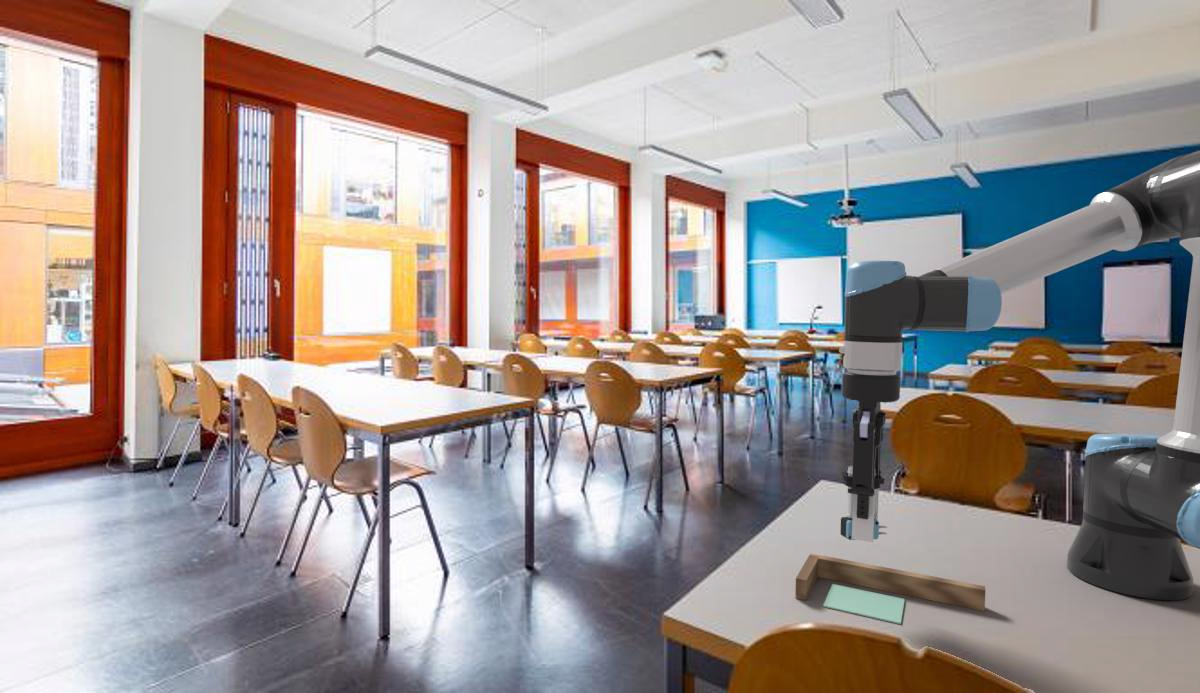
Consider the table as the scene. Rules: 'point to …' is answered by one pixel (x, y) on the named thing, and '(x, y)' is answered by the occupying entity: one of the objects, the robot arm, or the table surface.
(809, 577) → the wooden l-shaped wall
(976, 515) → the table surface
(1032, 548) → the table surface
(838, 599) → the pad
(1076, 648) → the table surface
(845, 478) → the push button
